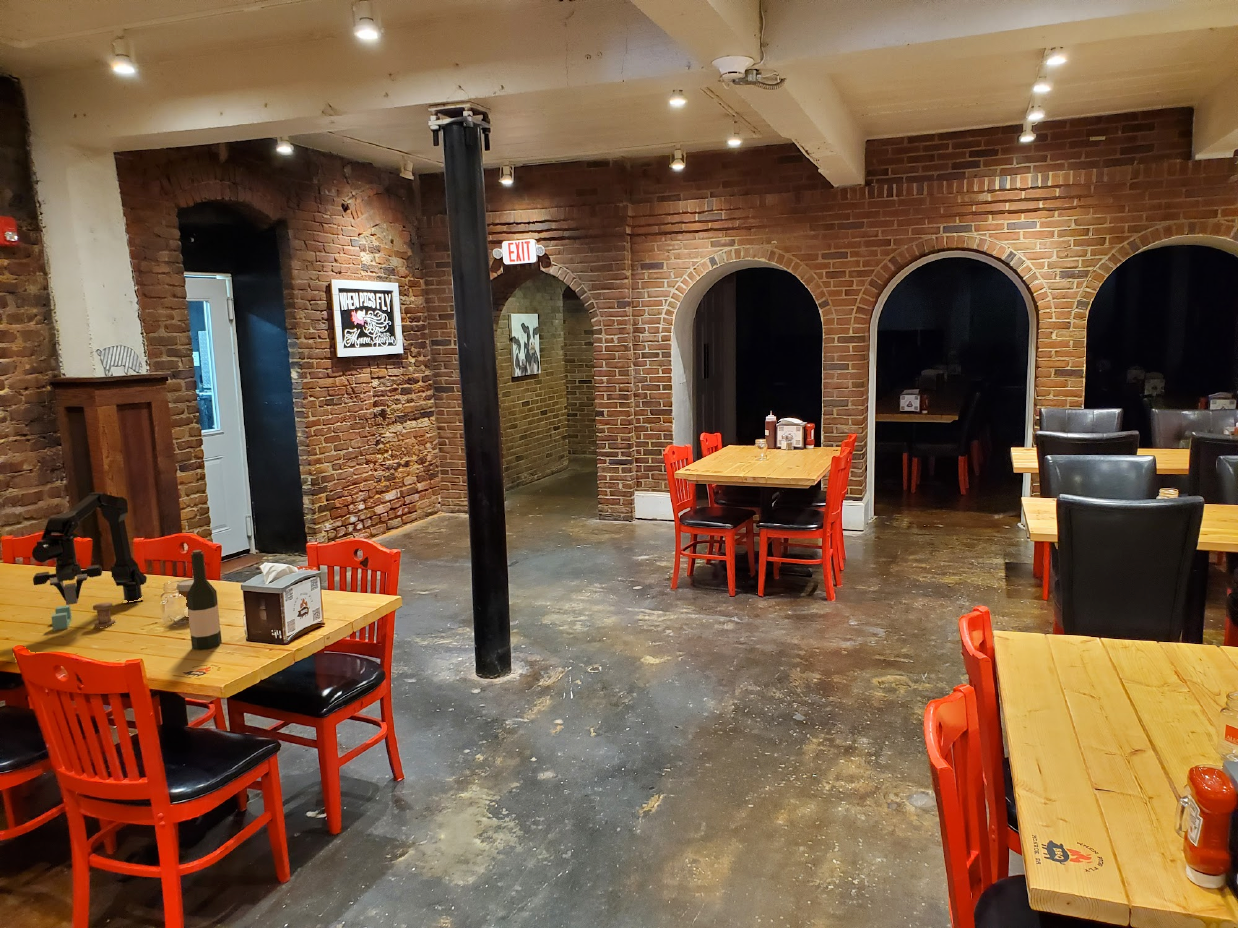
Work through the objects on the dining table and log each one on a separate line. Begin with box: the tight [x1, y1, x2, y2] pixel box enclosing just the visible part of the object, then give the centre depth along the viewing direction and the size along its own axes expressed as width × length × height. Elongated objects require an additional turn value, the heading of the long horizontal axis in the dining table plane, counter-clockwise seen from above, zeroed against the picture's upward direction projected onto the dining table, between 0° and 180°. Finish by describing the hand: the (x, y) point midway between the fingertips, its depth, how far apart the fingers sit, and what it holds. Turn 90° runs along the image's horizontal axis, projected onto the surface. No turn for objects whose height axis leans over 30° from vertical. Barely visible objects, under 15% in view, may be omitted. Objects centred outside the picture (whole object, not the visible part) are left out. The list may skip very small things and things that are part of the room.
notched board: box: [51, 604, 73, 632], centre depth 281 cm, size 12×4×5 cm, turn 27°
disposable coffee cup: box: [175, 577, 194, 606], centre depth 287 cm, size 10×10×12 cm
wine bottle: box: [186, 549, 223, 651], centre depth 255 cm, size 8×8×30 cm
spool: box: [92, 602, 116, 629], centre depth 279 cm, size 6×6×7 cm
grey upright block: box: [64, 582, 79, 606], centre depth 276 cm, size 4×3×6 cm
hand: (71, 599), depth 276 cm, fingers closed on grey upright block, 3 cm apart
